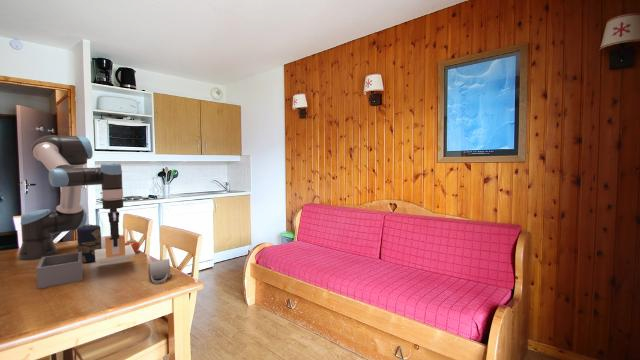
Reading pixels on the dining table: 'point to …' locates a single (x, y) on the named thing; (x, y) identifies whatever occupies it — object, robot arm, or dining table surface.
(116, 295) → the dining table surface
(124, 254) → the lid
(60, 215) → the robot arm
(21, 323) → the dining table surface
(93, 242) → the canister
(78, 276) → the tub
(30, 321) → the dining table surface
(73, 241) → the dining table surface
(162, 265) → the ceramic mug
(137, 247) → the tomato
